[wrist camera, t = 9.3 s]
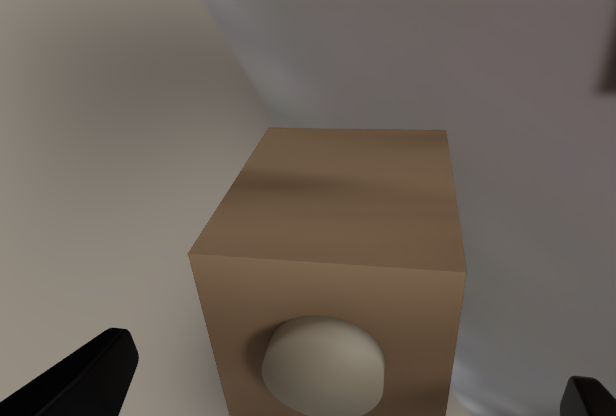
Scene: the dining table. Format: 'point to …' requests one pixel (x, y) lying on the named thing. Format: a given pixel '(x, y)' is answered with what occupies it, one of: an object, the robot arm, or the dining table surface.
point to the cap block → (335, 275)
